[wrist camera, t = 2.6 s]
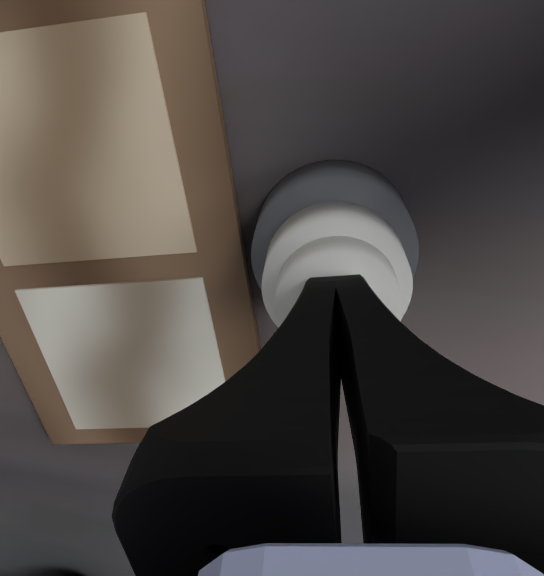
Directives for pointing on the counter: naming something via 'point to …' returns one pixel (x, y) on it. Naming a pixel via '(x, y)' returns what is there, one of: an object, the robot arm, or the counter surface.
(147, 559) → the robot arm
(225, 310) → the game board
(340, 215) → the dome
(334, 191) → the dome base
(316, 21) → the counter surface
